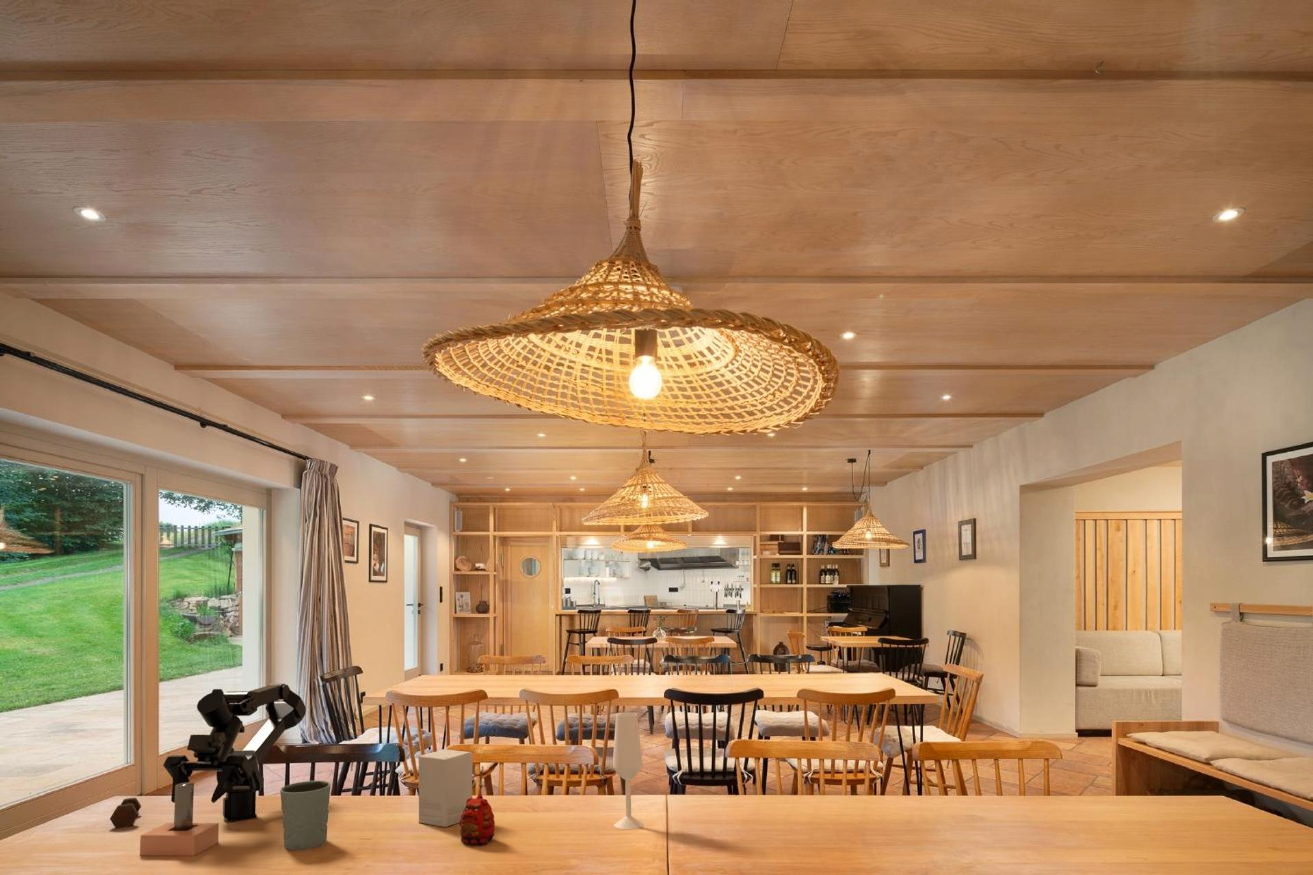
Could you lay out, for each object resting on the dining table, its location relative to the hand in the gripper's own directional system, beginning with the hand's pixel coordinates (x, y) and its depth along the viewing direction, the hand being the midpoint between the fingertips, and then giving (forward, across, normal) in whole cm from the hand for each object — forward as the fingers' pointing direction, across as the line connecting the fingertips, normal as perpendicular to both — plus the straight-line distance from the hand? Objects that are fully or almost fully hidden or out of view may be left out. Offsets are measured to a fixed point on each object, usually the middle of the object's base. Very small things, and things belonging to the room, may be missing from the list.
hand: (192, 801), depth 208 cm
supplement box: (-6, +51, +19) cm, 55 cm away
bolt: (-6, -27, +19) cm, 34 cm away
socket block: (+9, 0, +3) cm, 10 cm away
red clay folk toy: (+5, +63, +8) cm, 64 cm away
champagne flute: (-4, +94, +17) cm, 96 cm away
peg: (+8, 0, +4) cm, 9 cm away
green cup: (+7, +26, +6) cm, 27 cm away
